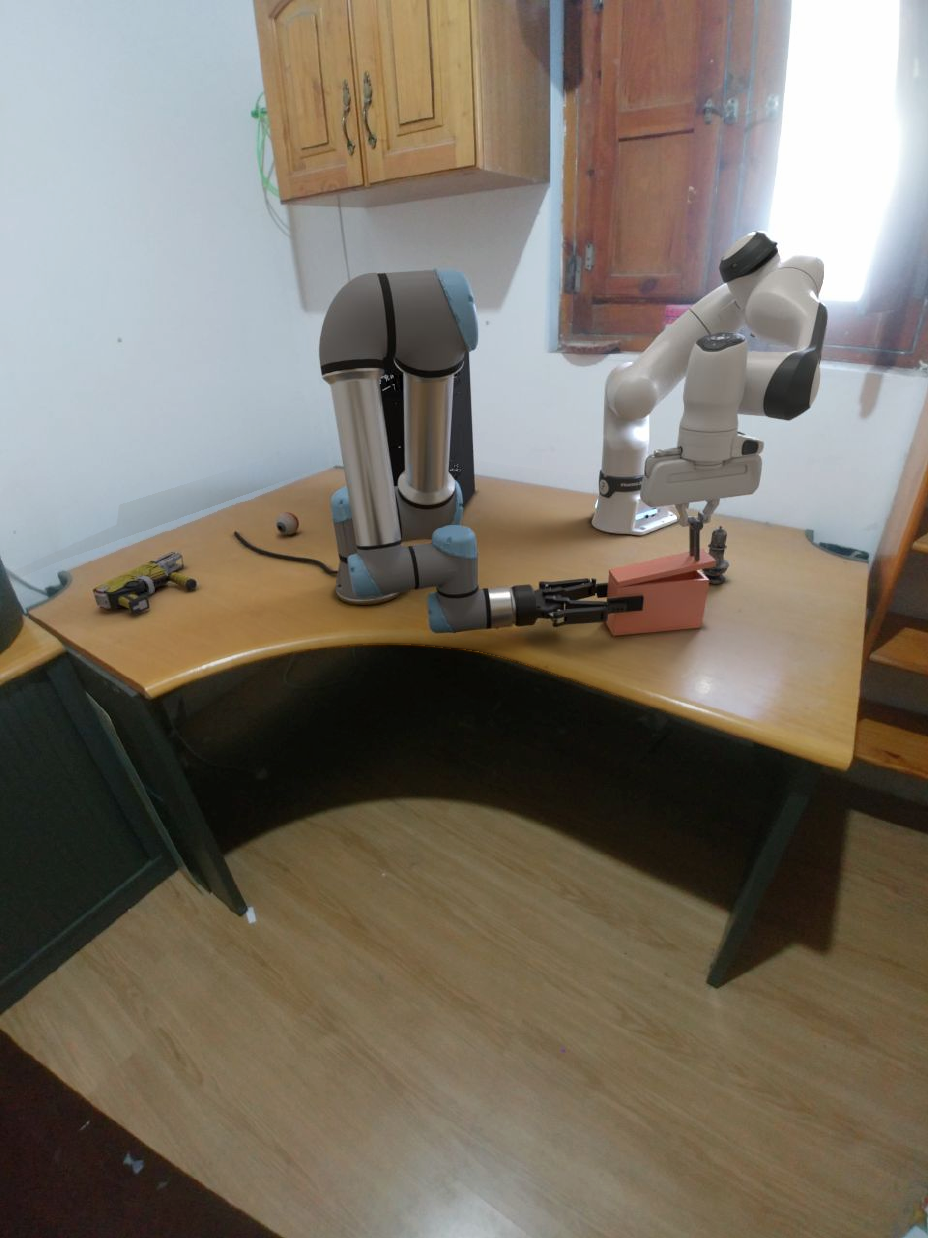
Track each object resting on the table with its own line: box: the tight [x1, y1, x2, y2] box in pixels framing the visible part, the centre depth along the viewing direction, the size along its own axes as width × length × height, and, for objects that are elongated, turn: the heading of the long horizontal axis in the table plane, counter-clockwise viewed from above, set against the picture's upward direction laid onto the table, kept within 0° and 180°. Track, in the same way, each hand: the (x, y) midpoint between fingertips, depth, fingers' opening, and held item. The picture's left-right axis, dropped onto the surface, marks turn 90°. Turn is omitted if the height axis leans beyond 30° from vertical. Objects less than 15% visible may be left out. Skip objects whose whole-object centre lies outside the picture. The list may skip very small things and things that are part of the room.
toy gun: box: [92, 551, 198, 616], centre depth 137 cm, size 5×24×15 cm
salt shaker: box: [701, 525, 730, 585], centre depth 127 cm, size 6×6×12 cm
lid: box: [608, 514, 716, 587], centre depth 107 cm, size 18×5×9 cm, turn 95°
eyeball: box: [275, 511, 300, 536], centre depth 163 cm, size 6×6×6 cm
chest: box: [605, 569, 710, 637], centre depth 112 cm, size 17×5×10 cm, turn 95°
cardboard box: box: [379, 351, 476, 510], centre depth 164 cm, size 38×20×45 cm, turn 167°
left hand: (636, 595), depth 111 cm, fingers closed on chest, 5 cm apart
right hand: (694, 523), depth 105 cm, fingers closed on lid, 2 cm apart
